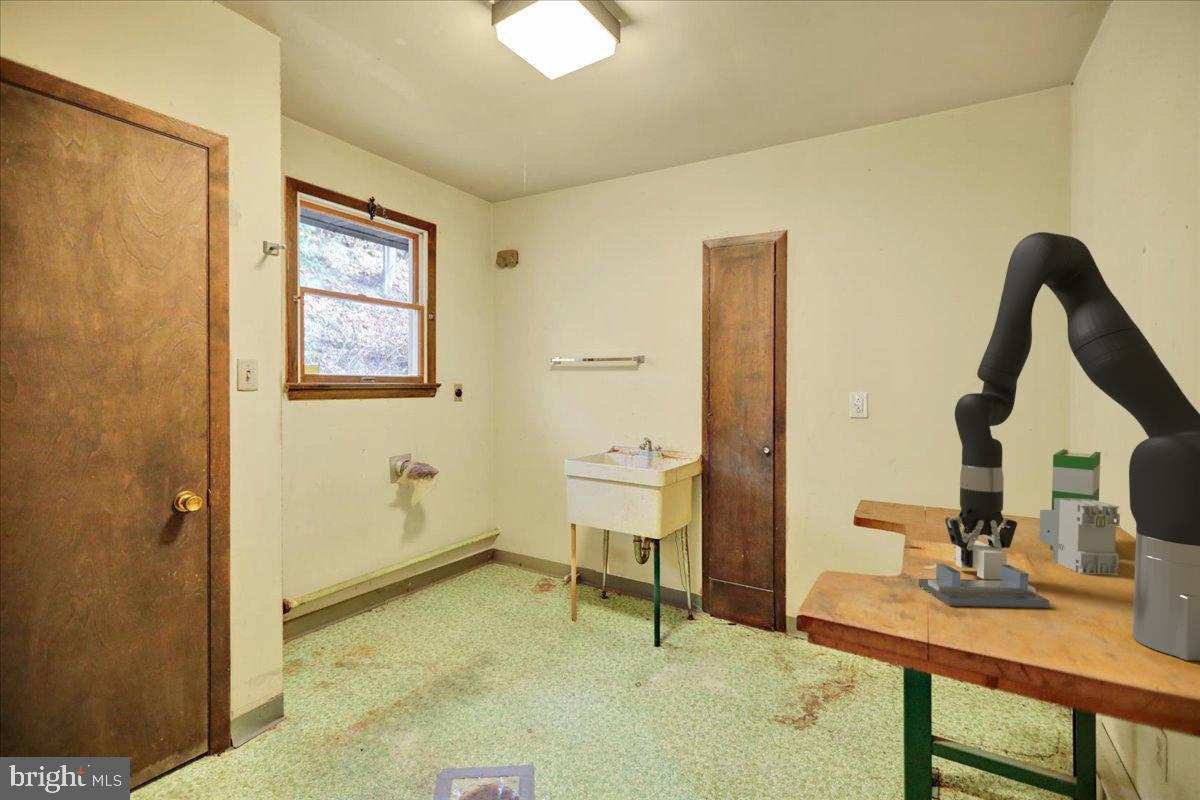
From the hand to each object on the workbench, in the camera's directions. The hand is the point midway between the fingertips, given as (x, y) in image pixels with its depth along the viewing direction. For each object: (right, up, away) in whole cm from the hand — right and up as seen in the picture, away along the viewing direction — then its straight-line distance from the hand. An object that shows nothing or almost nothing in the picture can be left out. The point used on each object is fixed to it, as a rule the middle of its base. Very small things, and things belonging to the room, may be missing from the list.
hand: (980, 566), depth 113 cm
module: (0, -1, 0) cm, 1 cm away
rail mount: (-7, -3, -10) cm, 13 cm away
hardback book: (+41, -2, +23) cm, 47 cm away
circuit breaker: (+28, -3, +9) cm, 30 cm away
